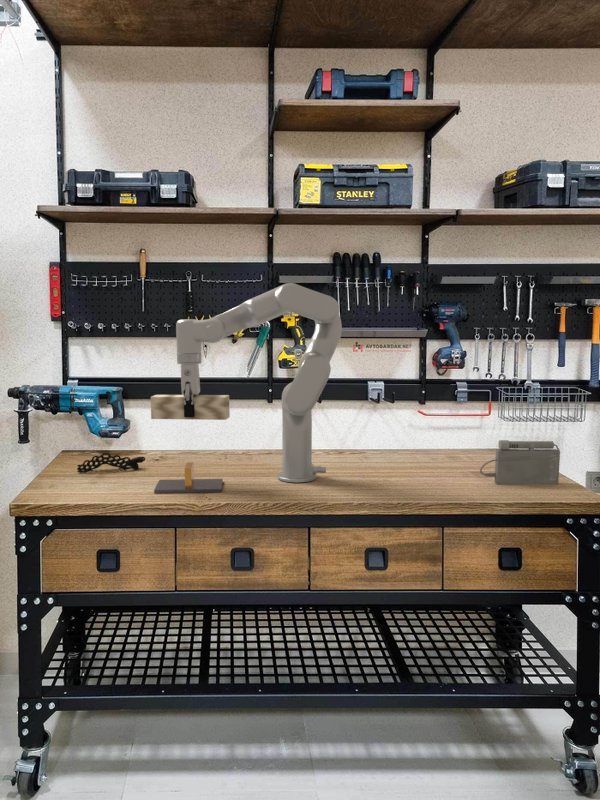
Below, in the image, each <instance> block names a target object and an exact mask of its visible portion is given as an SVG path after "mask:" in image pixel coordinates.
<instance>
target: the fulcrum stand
mask: <svg viewBox="0 0 600 800" xmlns="http://www.w3.org/2000/svg"><path fill="white" fill-rule="evenodd" d="M194 465H195V464H194V461H193V462H192V461H191V462H190V461H189V462H186V463H185V467H184V478H182V479H181V478H180V479H159V480H158V482H157V484H156V486H155V488H154V490H153V494H188V493H189V494H191V493H192V494H195V493H198V494H201V493H221V492H222V489H223V483H224V478H195V475H194V474H195V473H194V471H195V470H194V469H195V468H194Z"/></svg>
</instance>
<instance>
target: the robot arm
mask: <svg viewBox="0 0 600 800" xmlns="http://www.w3.org/2000/svg"><path fill="white" fill-rule="evenodd" d="M289 312H290V313H293V314H296V315H298V316H300V317H304V318H307V319H310V320H313V321H314V324H315V327H314V332H313V335H312V336H311V338H310V341H309V342H308V345H307V346H306V348H305V351H304V352H303V355H302V356H301V358H300V360H299V361H298V363H297V368H298V369H297V373H296V374H295V376H294V378H293V381H291V382H289V383H288V384H287V385H286V386H284V388H283V391H282V392H281V414H282V415H281V416H282V420H281V421H282V424H281V425H282V427H281V428H282V430H281V431H282V435H281V437H282V439H281V441H282V443H281V444H282V445H281V446H282V447H281V448H282V449H281V450H282V455H281V456H282V460H281V462H282V471H281V472H279V473H278V474H277V479H278V480H280V481H282V482H287V483H307V482H312V481H315V480H316V479H317V473H318V474H319V473H320V474H326V473H327V470H326V469H327V468H326V466H321V465H319V466H318V465H317V466H315V465H313V462H312V457H313V456H312V455H313V453H312V452H313V451H312V450H313V448H312V447H313V446H312V445H313V444H312V441H313V439H312V437H313V436H312V435H313V433H312V431H313V419H312V418H313V416H312V415H313V414H312V413H313V411H312V410H313V409H314V408H315V406H316V404H317V402H318V400H319V398H320V396H321V395H322V392H323V390H324V389H325V387H326V384H328V383H327V382H328V380H329V378H330V376H331V375H330V374H331V368H332V367H331V364H330V362H331V360H332V357H333V356H334V354H335V352H336V350H337V347H338V345H339V343H340V340H341V338H342V337H341V336H342V332H343V331H342V329H343V326H342V325H343V324H342V319H341V315H340V305H339V303H338V301H337V300H336V299H335V298H334V297H332V296H331V295H328V294H324V293H321V292H320V291H316V290H313V289H310V288H307V287H305V286H302V285H299V284H297V283H294V282H287V283H283V284H282V285H279V286H277V287H275V288H273V289H270V290H268V291H266V292H264V293H261V294H259V295H257V296H255V297H254V296H253V297H251V298H250V299H247V300H245V301H244V302H242V303H241V304H239V305H237V306H235V307H233V308H231V309H228V310H227V311H225V312H223V313H220V314H217V315H215V316H213V317H211V318H207V319H199V320H198V319H195V318H193V319H192V318H187V319H184V318H183V319H179V320H177V321H176V326H175V333H176V334H175V335H176V360H177V361H176V364H177V365H180V386H181V395H184V417H194V416H195V412H194V404H193V397H194V395H196V396H197V395H200V392H201V384H200V383H201V381H200V368H199V364H202V343H209V344H215V343H216V344H217V343H219V342H220V341H222V340H223V339H224V338H227V337H228V336H229V337H230V336H231V335H233V334H236V333H238V332H240V331H242V330H246V329H248V328H254V327H257V326H260V325H263V324H265V323H267V322H269V321H272V320H273V319H276V318H279V317H281V316H283V315H286V314H288V313H289Z"/></svg>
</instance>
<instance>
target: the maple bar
mask: <svg viewBox="0 0 600 800" xmlns="http://www.w3.org/2000/svg"><path fill="white" fill-rule="evenodd" d="M193 404H194V412H195V416H194V417H184V395H182V394H154V395H151V396H150V418H151V420H202V421H203V420H209V421H210V420H213V421H214V420H215V421H216V420H217V421H220V420H221V421H226V420H228V419H229V418H230V413H231V412H230V395H229V394H198V395H197V396H196V395H194V397H193Z"/></svg>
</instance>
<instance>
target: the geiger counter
mask: <svg viewBox="0 0 600 800" xmlns="http://www.w3.org/2000/svg"><path fill="white" fill-rule="evenodd" d="M497 446H498V448H496V449H495V459H490V460H489V461H487V462H485V463H484V464H482V466H481V467H480V469H479V472H480V474H481V475H483V476H485V477H489V478H493V477H494V483H495V484H496V485H559V481H560V480H559V479H560V478H559V477H560V459H561V450H560V448H559V447H558V445H557V444H556V443H554V441H552V440H547V441H545V440H543V441H539V440H536V441H535V440H528V441H527V440H522V441H521V440H520V441H519V440H517V441H515V440H511V441H510V440H507V439H500V440H498V444H497ZM492 462H494V464H495V465H494V472H486V473H485V472H484V473H483V471H482V469H484V467H485V466H486V465H488V464H490V463H492Z"/></svg>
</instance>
